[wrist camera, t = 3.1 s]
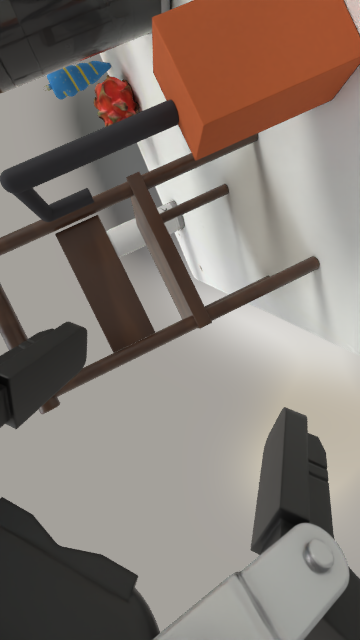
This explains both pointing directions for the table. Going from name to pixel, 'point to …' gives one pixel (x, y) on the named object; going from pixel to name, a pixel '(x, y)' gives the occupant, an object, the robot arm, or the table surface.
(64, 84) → the ornament
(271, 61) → the orange open padlock
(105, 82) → the dragon fruit
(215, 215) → the table surface
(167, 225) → the travel mug
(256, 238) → the table surface
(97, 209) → the chair
